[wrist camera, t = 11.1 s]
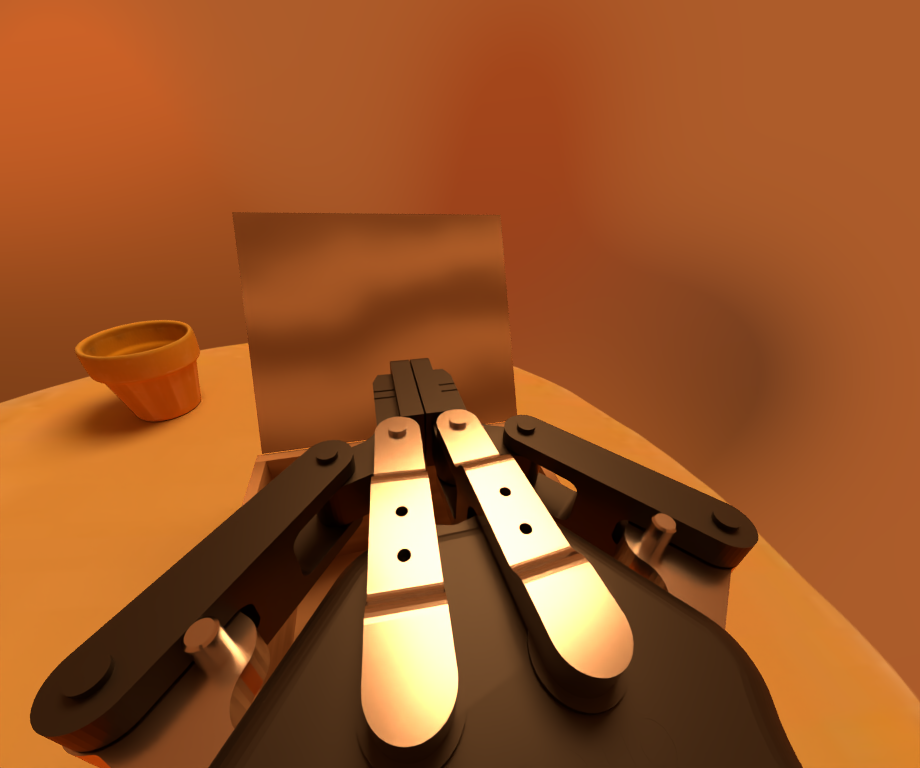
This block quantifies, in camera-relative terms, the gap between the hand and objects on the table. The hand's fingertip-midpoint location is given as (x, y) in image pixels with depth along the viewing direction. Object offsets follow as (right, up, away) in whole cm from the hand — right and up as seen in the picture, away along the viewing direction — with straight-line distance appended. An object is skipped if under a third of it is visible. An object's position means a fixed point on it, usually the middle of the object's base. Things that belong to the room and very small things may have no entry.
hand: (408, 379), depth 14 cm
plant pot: (-35, -3, +31) cm, 47 cm away
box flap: (-3, +4, +10) cm, 11 cm away
